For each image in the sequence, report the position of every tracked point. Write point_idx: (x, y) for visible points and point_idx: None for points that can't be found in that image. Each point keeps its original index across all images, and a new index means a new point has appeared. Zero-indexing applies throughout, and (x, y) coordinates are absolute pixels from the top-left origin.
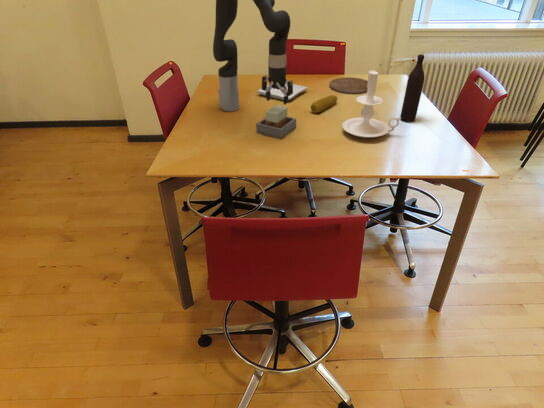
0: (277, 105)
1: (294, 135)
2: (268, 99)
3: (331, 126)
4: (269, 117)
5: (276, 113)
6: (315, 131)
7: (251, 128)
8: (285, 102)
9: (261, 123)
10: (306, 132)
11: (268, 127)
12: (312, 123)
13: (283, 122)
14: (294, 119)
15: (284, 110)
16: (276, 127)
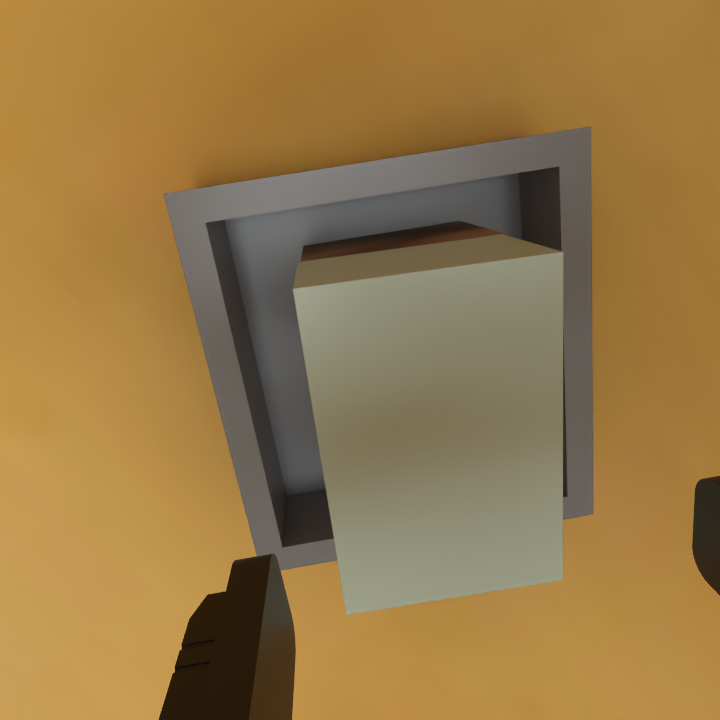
0: (533, 579)
1: (157, 362)
2: (716, 506)
3: (41, 709)
4: (446, 251)
5: (329, 314)
6: (68, 557)
7: (648, 197)
8: (229, 605)
9: (551, 224)
10: (116, 489)
11: (382, 160)
12: None
13: None
14: (261, 543)
15: (332, 522)
16: (312, 254)
